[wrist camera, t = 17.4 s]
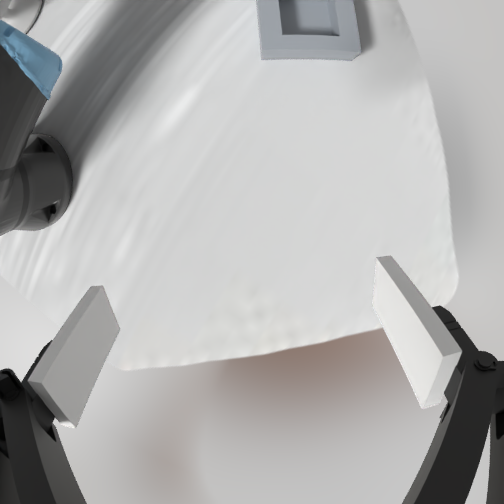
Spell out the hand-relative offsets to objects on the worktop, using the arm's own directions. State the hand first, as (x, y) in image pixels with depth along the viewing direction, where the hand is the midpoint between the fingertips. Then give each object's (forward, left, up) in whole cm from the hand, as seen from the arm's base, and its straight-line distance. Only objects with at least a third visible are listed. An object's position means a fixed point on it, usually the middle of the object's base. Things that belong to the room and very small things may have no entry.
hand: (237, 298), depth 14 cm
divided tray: (+9, +29, -28) cm, 41 cm away
